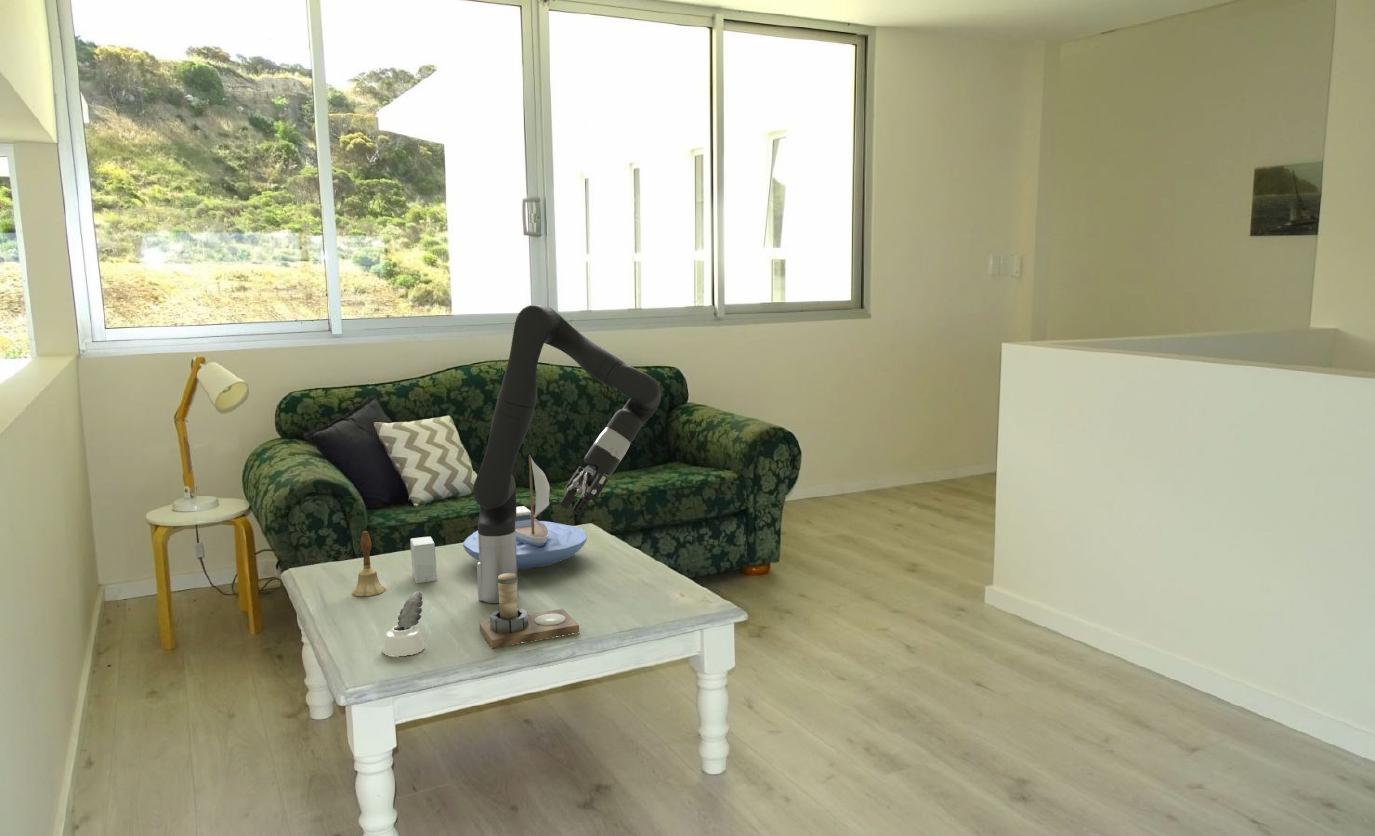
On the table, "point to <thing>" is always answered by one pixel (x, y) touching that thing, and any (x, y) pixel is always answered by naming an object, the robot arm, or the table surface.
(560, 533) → the sailboat
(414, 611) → the inkwell
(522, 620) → the ring
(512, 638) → the walnut board
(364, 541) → the hand bell
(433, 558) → the small box
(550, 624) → the rest disc
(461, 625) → the table surface
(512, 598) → the wooden peg
